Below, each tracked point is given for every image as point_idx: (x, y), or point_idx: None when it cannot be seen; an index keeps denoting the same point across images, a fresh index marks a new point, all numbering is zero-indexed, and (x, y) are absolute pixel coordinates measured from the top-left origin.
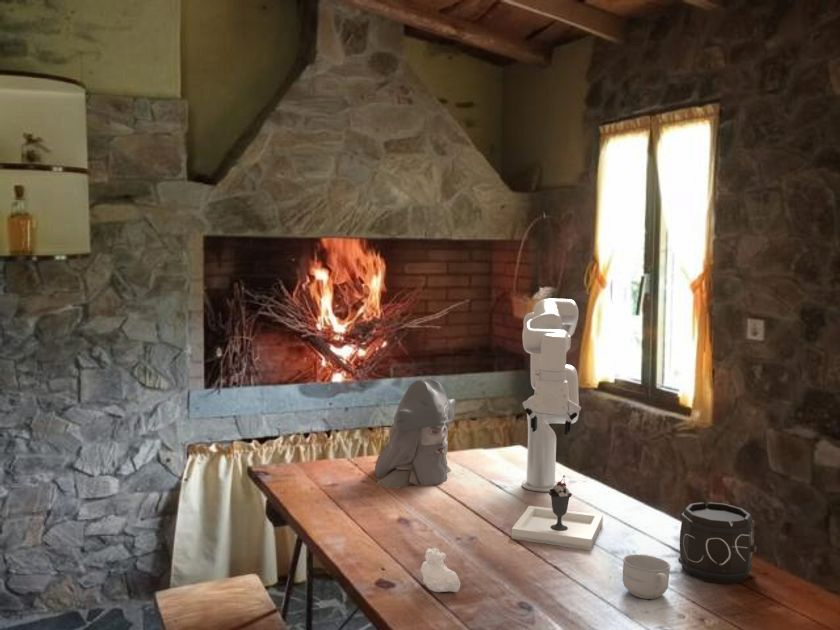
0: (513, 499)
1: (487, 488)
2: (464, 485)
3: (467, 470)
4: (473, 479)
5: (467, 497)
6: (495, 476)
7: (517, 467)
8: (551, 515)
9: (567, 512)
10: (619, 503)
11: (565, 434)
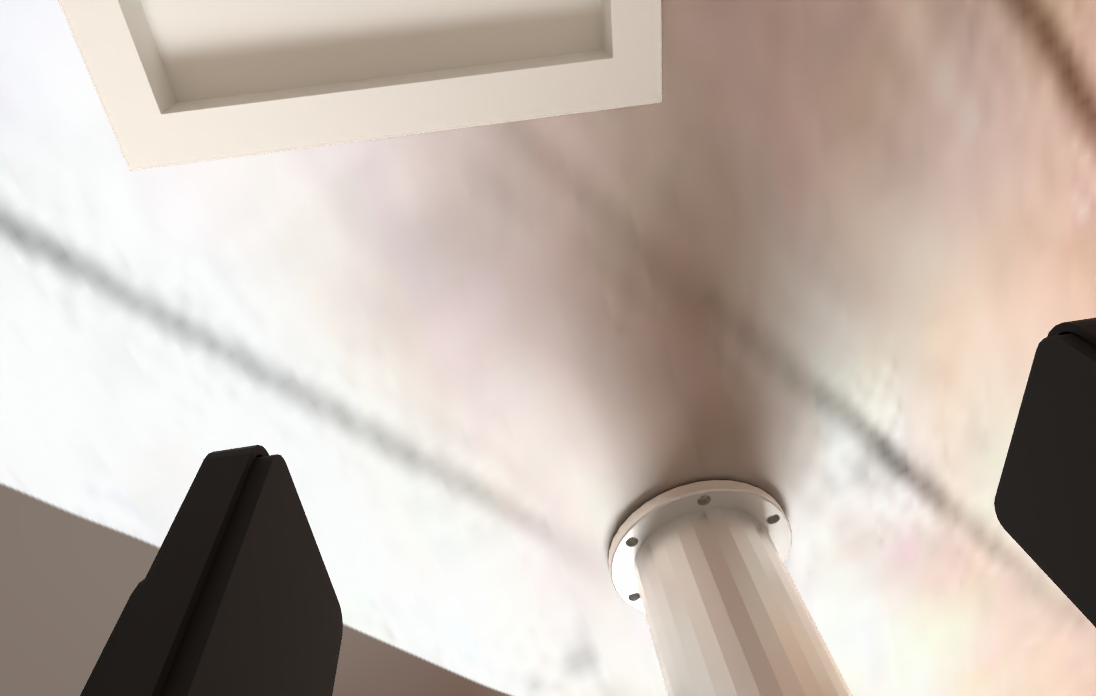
0: (791, 319)
1: (947, 407)
2: None
3: None
4: None
5: (1050, 221)
6: (921, 565)
7: None
8: (483, 67)
9: (368, 93)
10: None
11: (253, 446)
